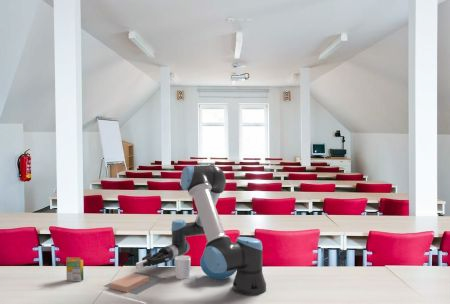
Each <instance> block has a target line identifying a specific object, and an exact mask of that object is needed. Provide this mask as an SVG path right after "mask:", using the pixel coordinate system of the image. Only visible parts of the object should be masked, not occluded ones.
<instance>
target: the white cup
mask: <svg viewBox="0 0 450 304" xmlns="http://www.w3.org/2000/svg"><path fill="white" fill-rule="evenodd" d="M191 258H192V257H191V256H190V255H185V254H184V255H181V256H177V257H175V258H174V269H175V271H174V272H175V278H176V279H178V280H187V279H189V278H190V277H191V262H192V261H191Z"/></svg>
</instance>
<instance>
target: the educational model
mask: <svg viewBox="0 0 450 304" xmlns="http://www.w3.org/2000/svg"><path fill="white" fill-rule="evenodd" d="M199 263H200V267H201V270H202V271H203V273H204V274H205V275H206V276H208V277H209V278H210V279H214V280H223V279H228V278H230V277H231V276H233V275H234V274H236V273H237V269H236V270H231V271H226V272H224V273H213V272H212V271H210V270H209V269H208V268H207V266H206V264H205V261H204V255H203V254H202V255H201V257H200V261H199Z"/></svg>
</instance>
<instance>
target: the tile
mask: <svg viewBox="0 0 450 304" xmlns="http://www.w3.org/2000/svg"><path fill="white" fill-rule="evenodd" d="M147 282H149V276H144V275H140V274H135V273H134V272H132V273H130V274H128V275H124V277H121V278H118V279H117V280H114V281H112V282H109V283H110V288H109V289H112V290H117V291H121V292H124V293H128V292H129V291H131V290H133V289H135V288H137V287H139V286H141V285H143V284H145V283H147Z"/></svg>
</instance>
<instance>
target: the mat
mask: <svg viewBox="0 0 450 304" xmlns="http://www.w3.org/2000/svg"><path fill="white" fill-rule="evenodd" d="M133 273H135V274H140V275H144V276H149V282H147V283H145V284H143V285H141V286H139V287H137V288H135V289H133V290H131V291H129V292H127V293H129V294H132V295H133V294H134V295H138V294H141V293H142V292H144V291H146V290H148V289H150V288H151V287H154V286H156V285H158V284H159V283H161V282H164V281H165V280H167V279H168V278H166V277H161V276H157V275H153V274H148V273H142V272H138V271H135V272H133ZM110 283H111V282H109V283H107V284H105V285H104V287H105V288H109V289H111V288H110Z"/></svg>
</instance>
